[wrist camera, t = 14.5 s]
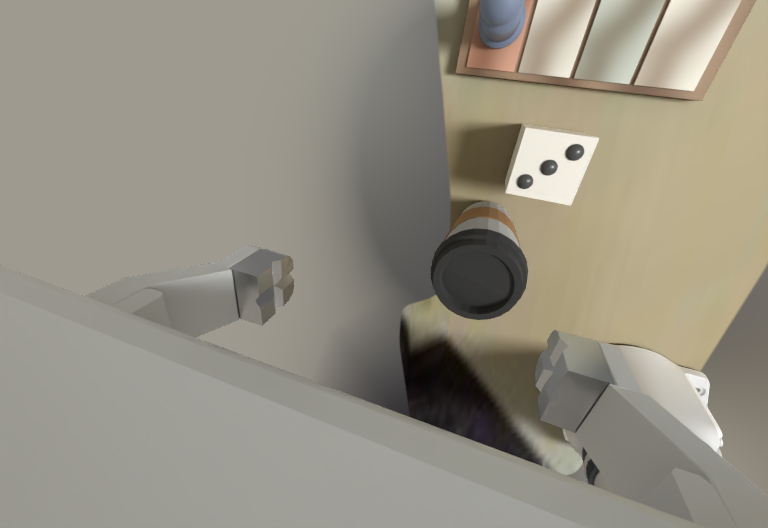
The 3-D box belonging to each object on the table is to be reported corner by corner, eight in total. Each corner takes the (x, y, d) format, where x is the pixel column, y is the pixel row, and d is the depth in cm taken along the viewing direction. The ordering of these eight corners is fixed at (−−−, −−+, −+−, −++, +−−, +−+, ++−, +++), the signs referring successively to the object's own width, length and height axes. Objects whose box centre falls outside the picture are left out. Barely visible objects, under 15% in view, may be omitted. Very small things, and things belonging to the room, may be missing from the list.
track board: (761, -23, 24) (772, -28, 23) (695, 100, 28) (703, 100, 27) (477, -33, 29) (476, -38, 28) (456, 73, 33) (455, 72, 32)
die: (583, 132, 32) (599, 138, 27) (560, 190, 35) (571, 205, 30) (522, 123, 33) (525, 127, 28) (504, 180, 36) (505, 193, 31)
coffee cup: (498, 265, 41) (496, 339, 28) (439, 238, 42) (412, 298, 29) (534, 209, 36) (552, 266, 24) (468, 180, 37) (451, 220, 25)
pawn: (530, 32, 29) (542, 6, 21) (487, 58, 31) (483, 42, 23) (516, -16, 28) (522, -63, 20) (472, 14, 29) (462, -18, 22)
